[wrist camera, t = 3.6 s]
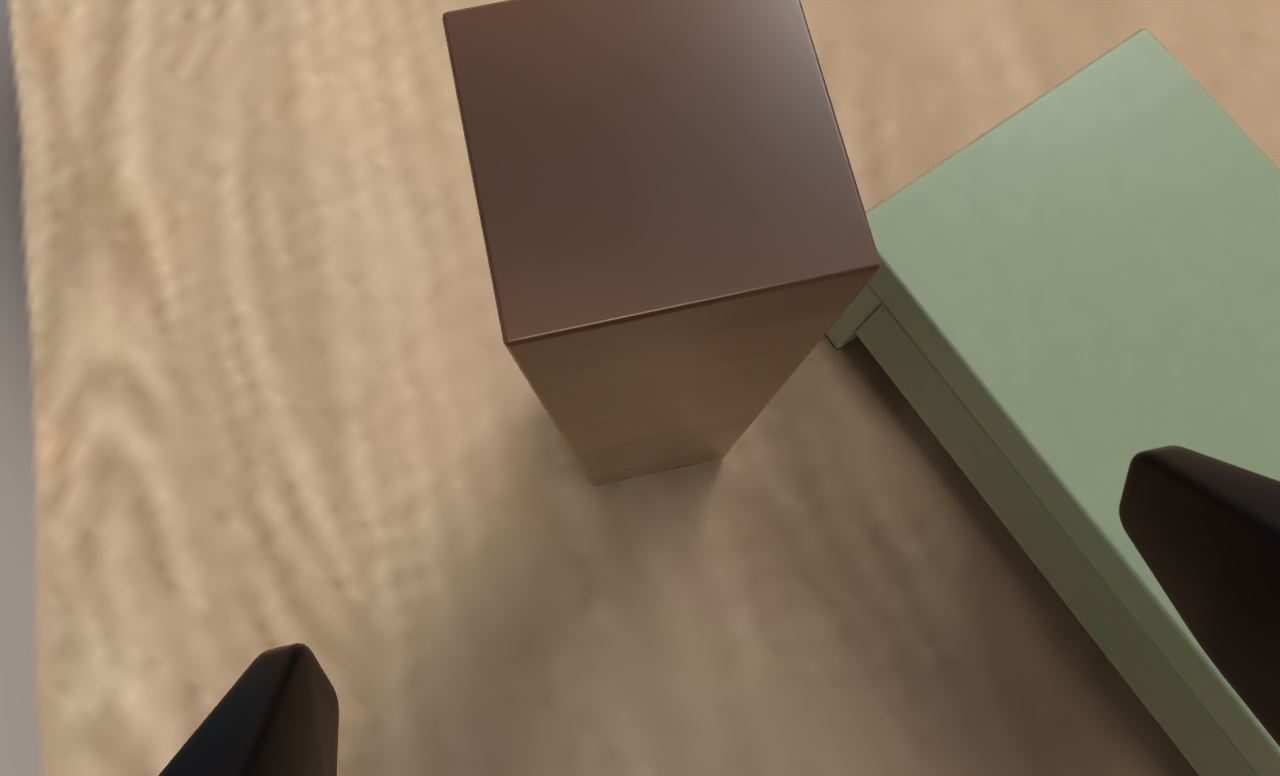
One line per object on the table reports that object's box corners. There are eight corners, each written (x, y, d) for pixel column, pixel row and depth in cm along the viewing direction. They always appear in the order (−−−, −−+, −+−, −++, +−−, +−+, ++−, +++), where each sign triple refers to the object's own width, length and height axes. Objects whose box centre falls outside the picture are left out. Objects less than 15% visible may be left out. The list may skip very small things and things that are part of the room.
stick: (724, 457, 19) (884, 266, 7) (592, 486, 19) (503, 347, 7) (693, 331, 20) (785, -55, 8) (566, 358, 20) (439, 11, 7)
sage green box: (1287, 936, 17) (1544, 1086, 12) (799, 301, 20) (850, 221, 15) (1531, 718, 18) (1859, 777, 13) (1030, 146, 21) (1145, 25, 16)
